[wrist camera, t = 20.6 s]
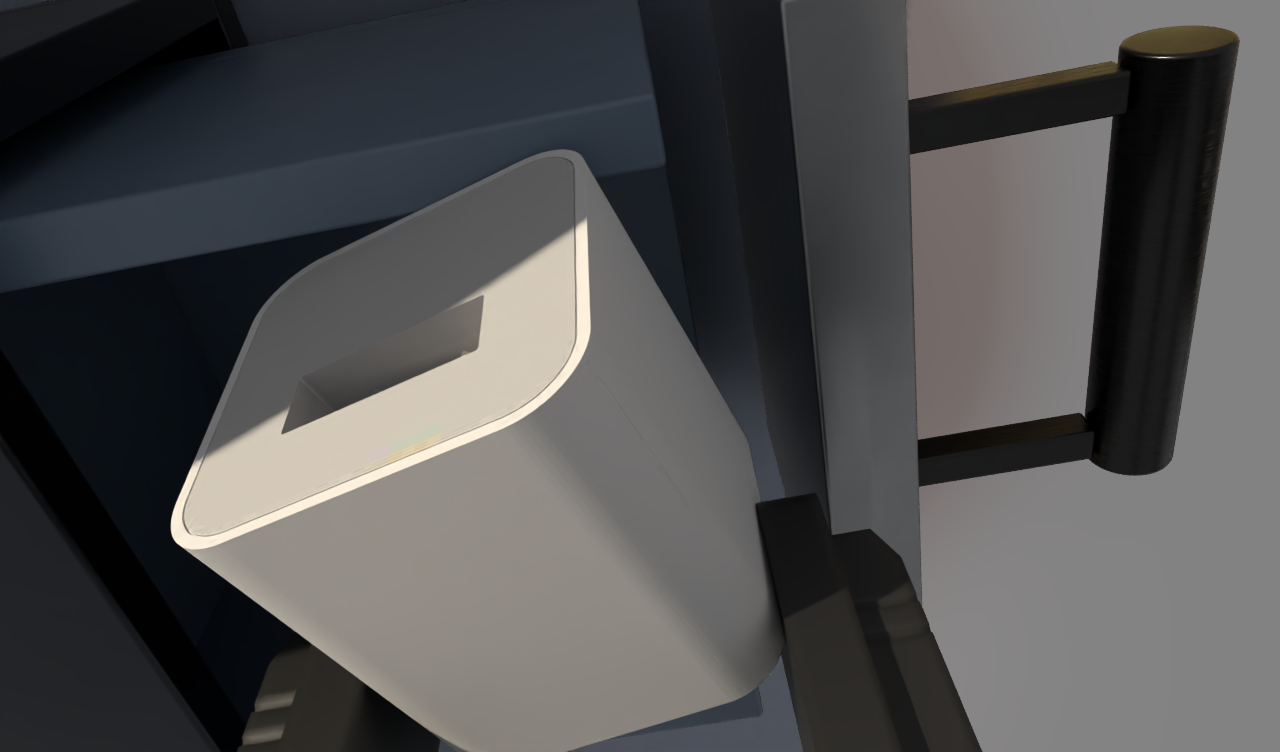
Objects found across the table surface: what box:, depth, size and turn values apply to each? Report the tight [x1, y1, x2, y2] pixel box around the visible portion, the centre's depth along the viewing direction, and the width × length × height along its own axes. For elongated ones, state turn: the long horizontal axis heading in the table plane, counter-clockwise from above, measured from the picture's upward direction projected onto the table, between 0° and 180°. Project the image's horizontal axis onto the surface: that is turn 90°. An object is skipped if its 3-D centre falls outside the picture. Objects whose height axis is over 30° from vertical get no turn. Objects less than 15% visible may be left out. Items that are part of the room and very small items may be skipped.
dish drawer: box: [0, 0, 1240, 752], centre depth 16 cm, size 19×11×9 cm, turn 100°
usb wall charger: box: [171, 149, 785, 752], centre depth 10 cm, size 4×7×4 cm, turn 26°
